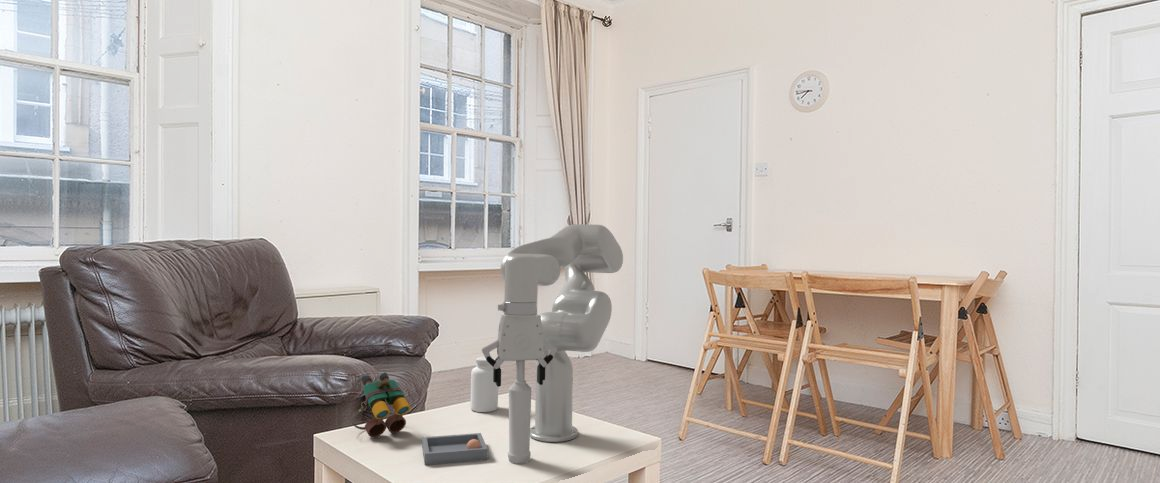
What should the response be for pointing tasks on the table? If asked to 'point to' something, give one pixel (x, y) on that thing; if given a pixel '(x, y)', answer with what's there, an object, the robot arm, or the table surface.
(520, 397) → the bottle
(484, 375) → the pill bottle
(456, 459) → the tray
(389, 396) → the binoculars
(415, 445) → the table surface
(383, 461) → the table surface
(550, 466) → the table surface
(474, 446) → the ball
